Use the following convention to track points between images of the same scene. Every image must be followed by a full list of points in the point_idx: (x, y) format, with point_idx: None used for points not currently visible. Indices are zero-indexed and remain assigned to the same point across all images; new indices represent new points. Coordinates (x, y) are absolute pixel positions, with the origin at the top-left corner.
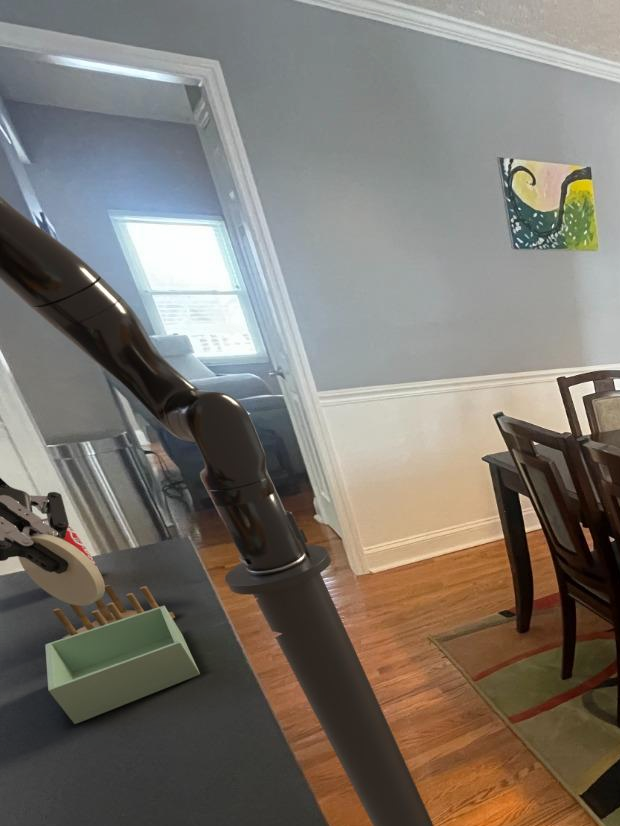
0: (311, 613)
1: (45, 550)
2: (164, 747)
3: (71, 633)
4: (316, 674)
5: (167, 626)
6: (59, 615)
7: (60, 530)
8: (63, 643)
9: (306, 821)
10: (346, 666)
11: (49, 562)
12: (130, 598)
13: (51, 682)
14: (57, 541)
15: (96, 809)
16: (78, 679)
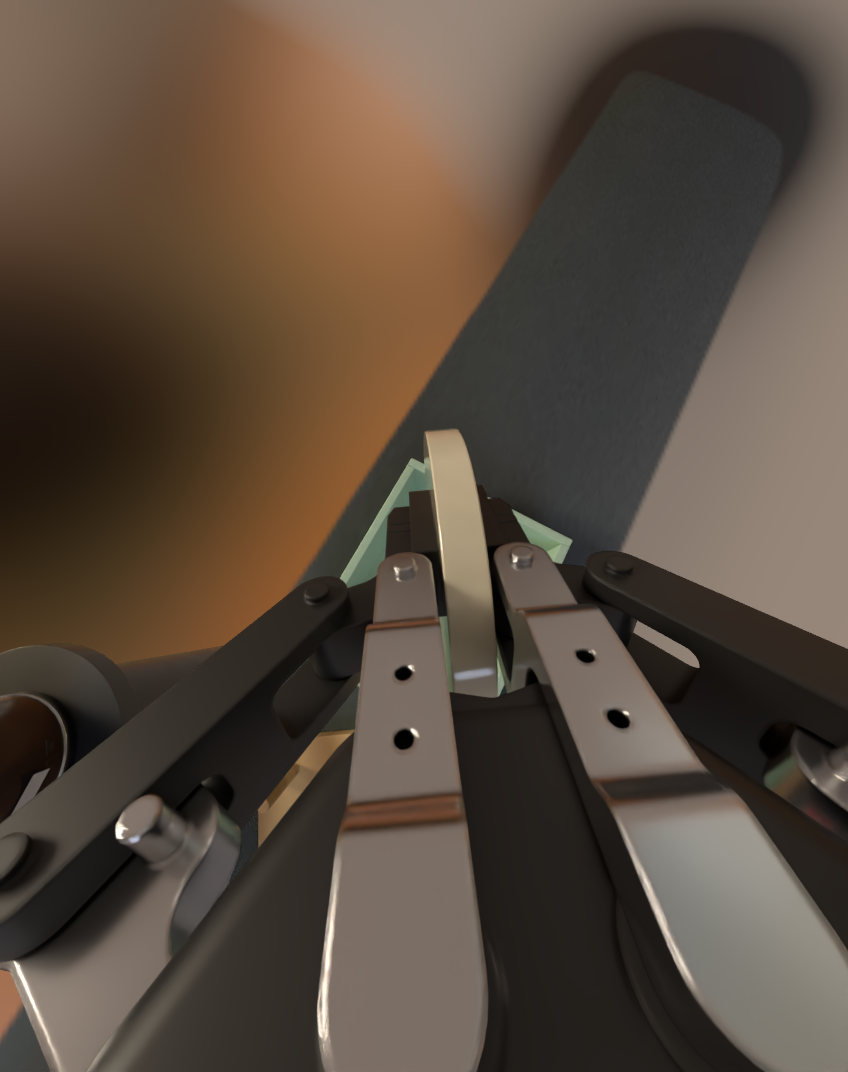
0: (146, 665)
1: (485, 520)
2: (542, 380)
3: None
4: None
5: (369, 544)
6: None
7: (350, 596)
8: None
9: (574, 162)
10: (211, 648)
11: (499, 507)
12: (272, 795)
13: (557, 561)
14: (454, 457)
15: (631, 357)
16: (537, 522)
